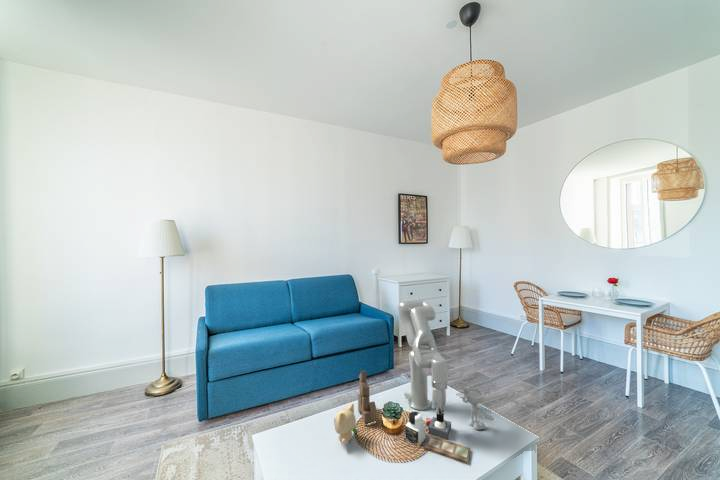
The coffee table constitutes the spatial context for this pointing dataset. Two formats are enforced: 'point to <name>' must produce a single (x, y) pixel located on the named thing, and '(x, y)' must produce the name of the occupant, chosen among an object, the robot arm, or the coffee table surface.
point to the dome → (440, 425)
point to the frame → (426, 440)
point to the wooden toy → (365, 401)
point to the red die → (428, 421)
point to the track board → (448, 449)
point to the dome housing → (438, 431)
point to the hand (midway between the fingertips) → (440, 420)
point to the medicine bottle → (415, 428)
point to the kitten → (345, 424)
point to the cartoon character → (474, 406)
